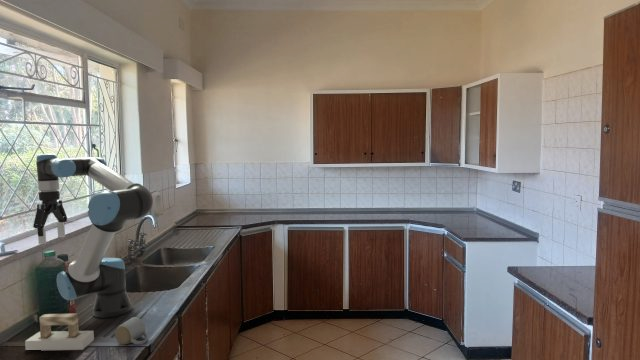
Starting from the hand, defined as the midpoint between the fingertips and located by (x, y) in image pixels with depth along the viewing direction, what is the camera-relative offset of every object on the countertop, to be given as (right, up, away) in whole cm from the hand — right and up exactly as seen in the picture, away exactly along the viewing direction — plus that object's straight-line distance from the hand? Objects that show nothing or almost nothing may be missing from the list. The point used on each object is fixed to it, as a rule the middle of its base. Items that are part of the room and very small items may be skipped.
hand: (52, 240), depth 192 cm
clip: (+20, -34, -30) cm, 49 cm away
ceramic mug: (+46, -33, -27) cm, 63 cm away
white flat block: (+21, -34, -30) cm, 49 cm away
